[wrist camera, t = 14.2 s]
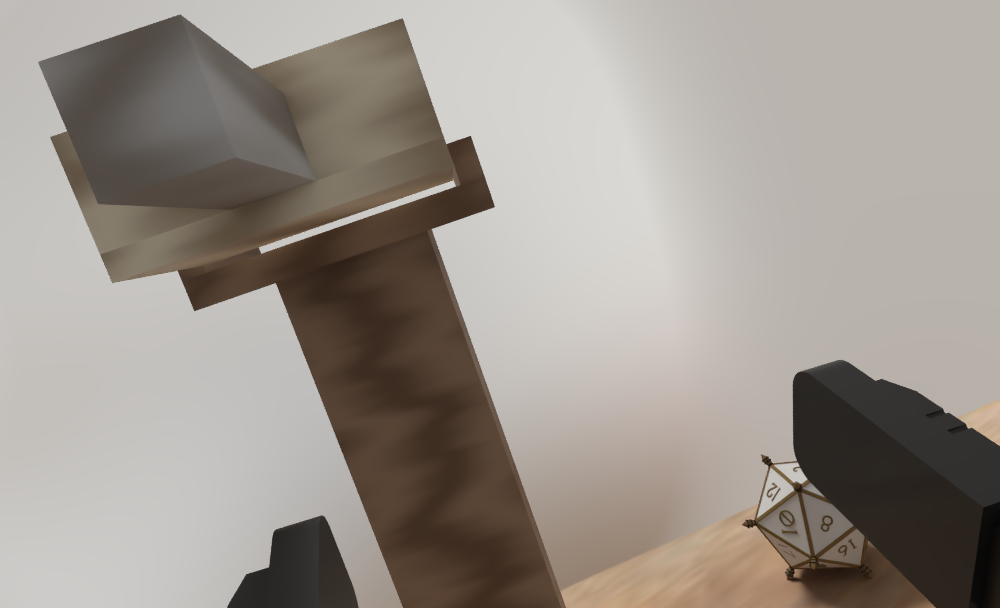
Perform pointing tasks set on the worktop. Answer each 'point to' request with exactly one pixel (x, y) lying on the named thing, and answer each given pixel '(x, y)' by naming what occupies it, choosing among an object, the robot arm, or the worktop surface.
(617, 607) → the worktop surface
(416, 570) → the stand
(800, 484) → the game die
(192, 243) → the tray
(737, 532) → the worktop surface
